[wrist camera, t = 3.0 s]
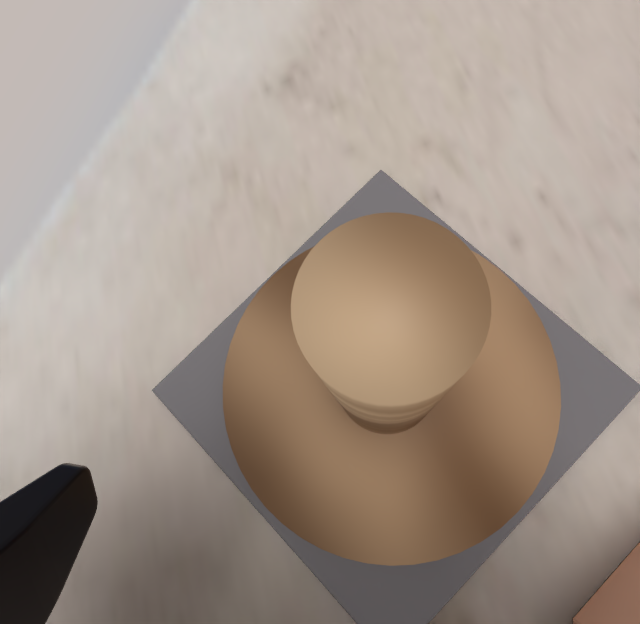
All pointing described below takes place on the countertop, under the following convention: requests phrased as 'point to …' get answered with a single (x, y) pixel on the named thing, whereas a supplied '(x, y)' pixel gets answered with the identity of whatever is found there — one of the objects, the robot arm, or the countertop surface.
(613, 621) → the bowl
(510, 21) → the countertop surface
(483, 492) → the tan post on disk
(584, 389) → the mat
